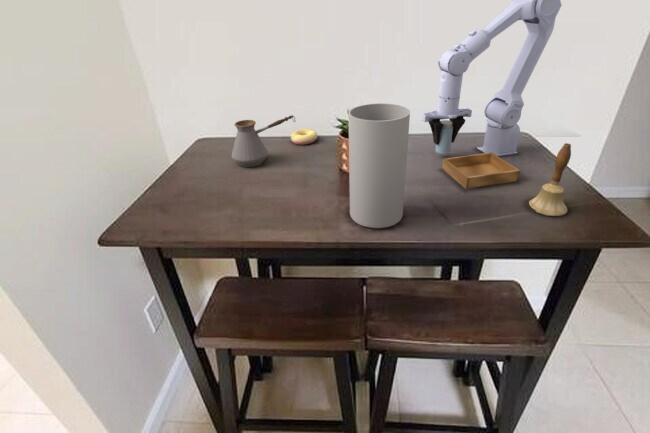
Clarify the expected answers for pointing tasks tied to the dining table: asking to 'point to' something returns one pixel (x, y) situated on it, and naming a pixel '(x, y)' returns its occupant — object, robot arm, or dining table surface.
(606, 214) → the dining table surface
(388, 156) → the cylinder vase
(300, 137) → the donut
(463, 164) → the wooden tray
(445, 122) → the shaker
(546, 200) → the hand bell
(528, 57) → the robot arm
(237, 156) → the coffee pot
